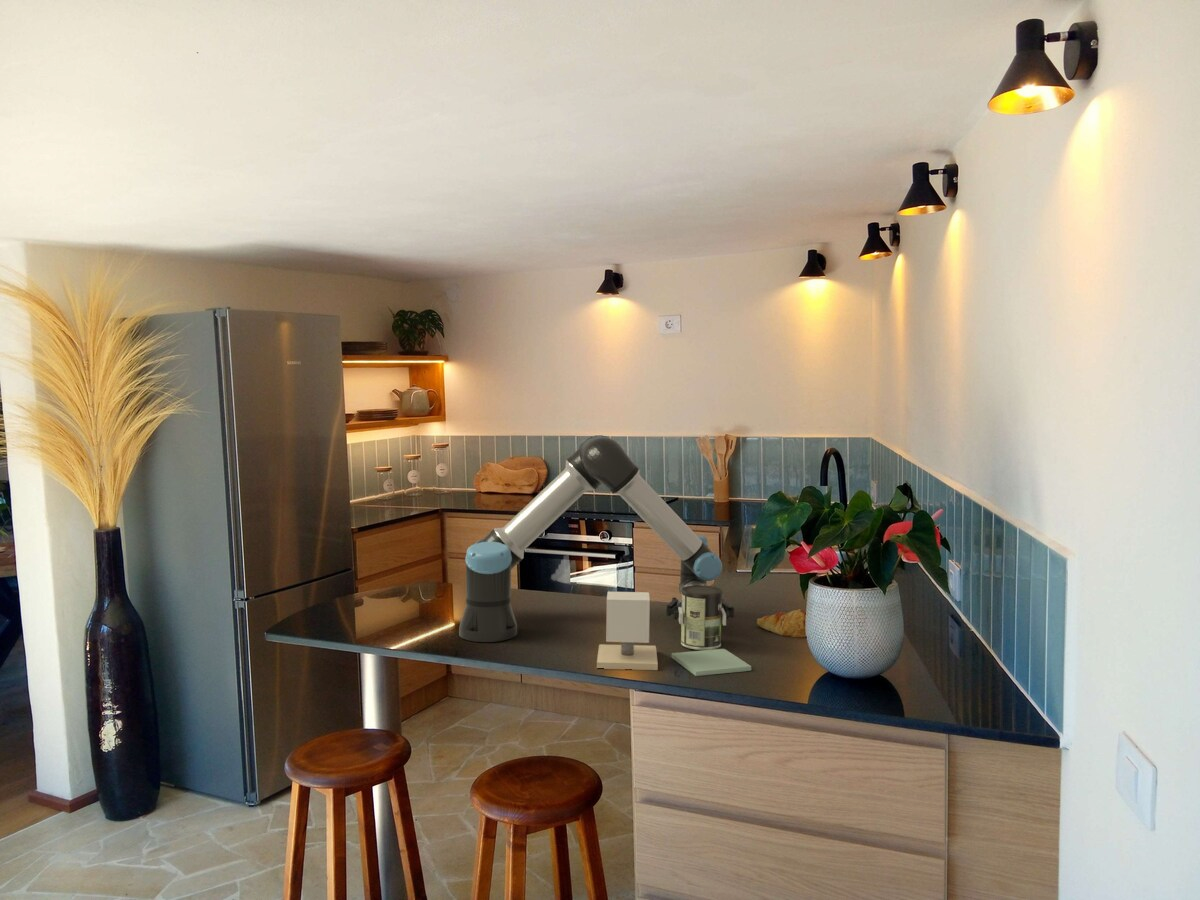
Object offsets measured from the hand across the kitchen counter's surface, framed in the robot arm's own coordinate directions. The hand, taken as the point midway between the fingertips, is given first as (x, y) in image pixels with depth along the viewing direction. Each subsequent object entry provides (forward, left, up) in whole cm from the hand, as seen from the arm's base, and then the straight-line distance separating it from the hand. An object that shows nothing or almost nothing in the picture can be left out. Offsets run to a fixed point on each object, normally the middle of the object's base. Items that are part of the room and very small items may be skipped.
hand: (702, 619), depth 205 cm
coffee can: (+1, +4, -8) cm, 9 cm away
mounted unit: (-21, -2, -8) cm, 22 cm away
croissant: (+31, +8, -8) cm, 33 cm away
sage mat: (-3, -10, -8) cm, 13 cm away
